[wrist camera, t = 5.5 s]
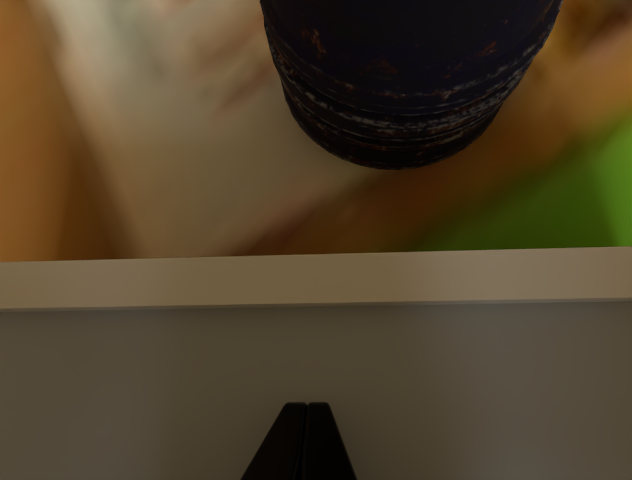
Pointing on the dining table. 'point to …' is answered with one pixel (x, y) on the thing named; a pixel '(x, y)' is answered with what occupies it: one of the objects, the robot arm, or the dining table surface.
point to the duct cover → (320, 363)
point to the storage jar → (402, 71)
